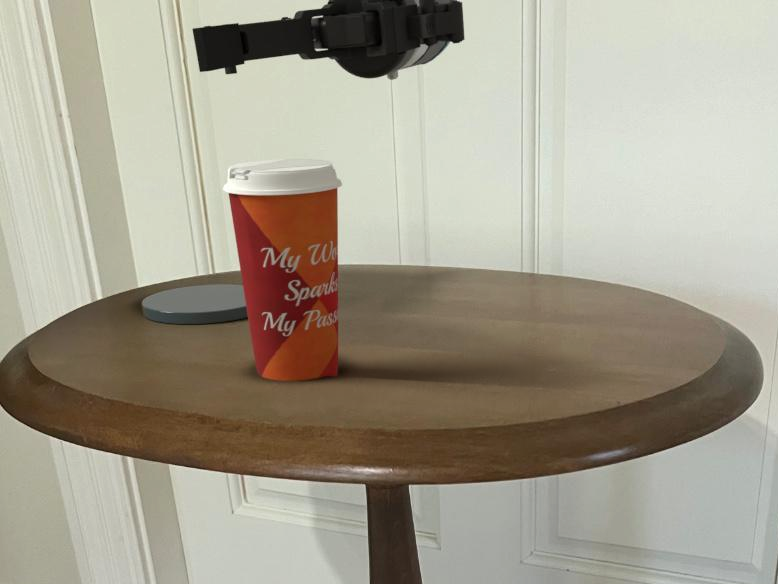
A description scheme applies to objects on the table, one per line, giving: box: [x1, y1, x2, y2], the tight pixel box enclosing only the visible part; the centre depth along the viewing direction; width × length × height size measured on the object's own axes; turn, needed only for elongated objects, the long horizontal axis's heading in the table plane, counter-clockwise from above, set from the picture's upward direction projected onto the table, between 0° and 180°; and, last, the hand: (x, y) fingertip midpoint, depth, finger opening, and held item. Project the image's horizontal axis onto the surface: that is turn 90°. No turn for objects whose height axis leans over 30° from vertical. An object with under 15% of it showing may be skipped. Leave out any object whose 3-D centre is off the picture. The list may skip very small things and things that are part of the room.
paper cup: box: [222, 158, 343, 382], centre depth 73 cm, size 8×8×14 cm
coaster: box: [141, 283, 248, 325], centre depth 95 cm, size 11×11×1 cm
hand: (292, 40), depth 73 cm, fingers open, 13 cm apart
